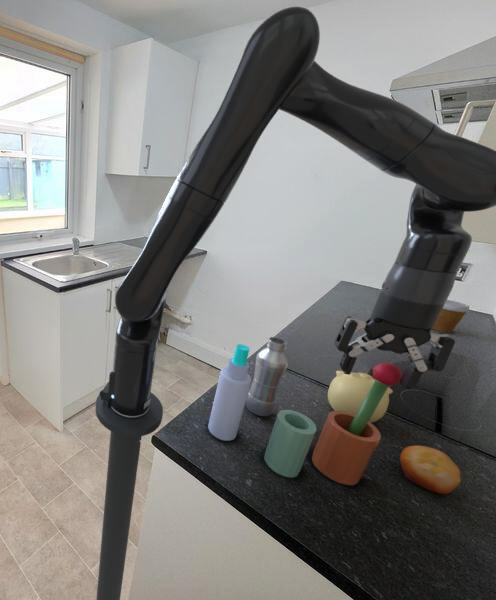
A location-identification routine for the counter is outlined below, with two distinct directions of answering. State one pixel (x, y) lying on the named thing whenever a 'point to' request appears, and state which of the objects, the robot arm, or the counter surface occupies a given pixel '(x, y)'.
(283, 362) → the silver metal bottle
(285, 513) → the counter surface
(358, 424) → the rose
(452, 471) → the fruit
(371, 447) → the terracotta vase
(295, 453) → the celadon vase
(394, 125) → the robot arm
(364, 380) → the sculpture
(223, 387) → the spray bottle
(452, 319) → the disposable coffee cup
